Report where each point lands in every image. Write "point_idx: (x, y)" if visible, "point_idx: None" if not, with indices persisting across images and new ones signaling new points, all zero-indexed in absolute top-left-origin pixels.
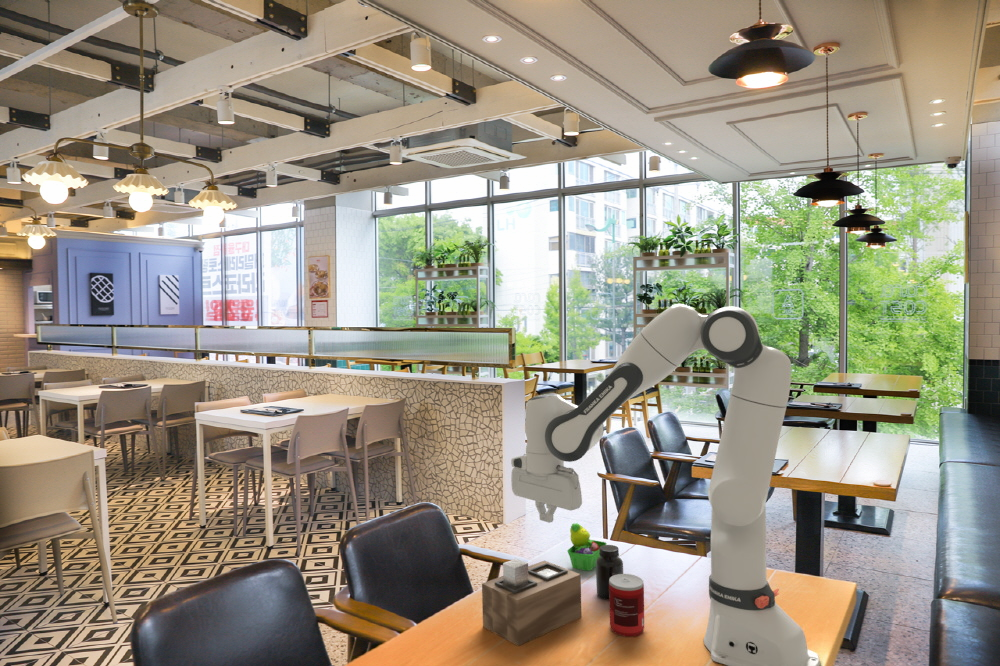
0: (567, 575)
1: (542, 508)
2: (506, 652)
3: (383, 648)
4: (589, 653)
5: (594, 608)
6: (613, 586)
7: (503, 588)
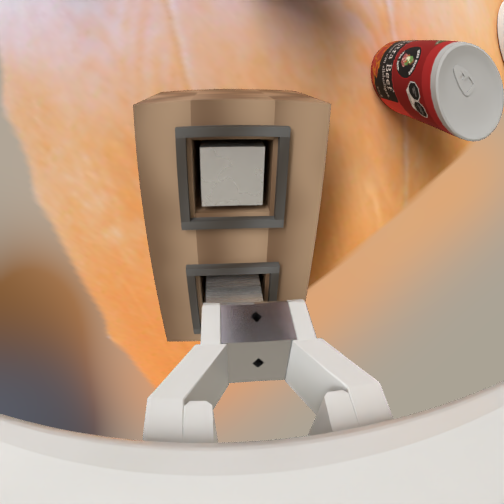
0: (302, 143)
1: (208, 392)
2: None
3: (151, 382)
4: (393, 203)
5: (289, 34)
6: (458, 137)
7: None
